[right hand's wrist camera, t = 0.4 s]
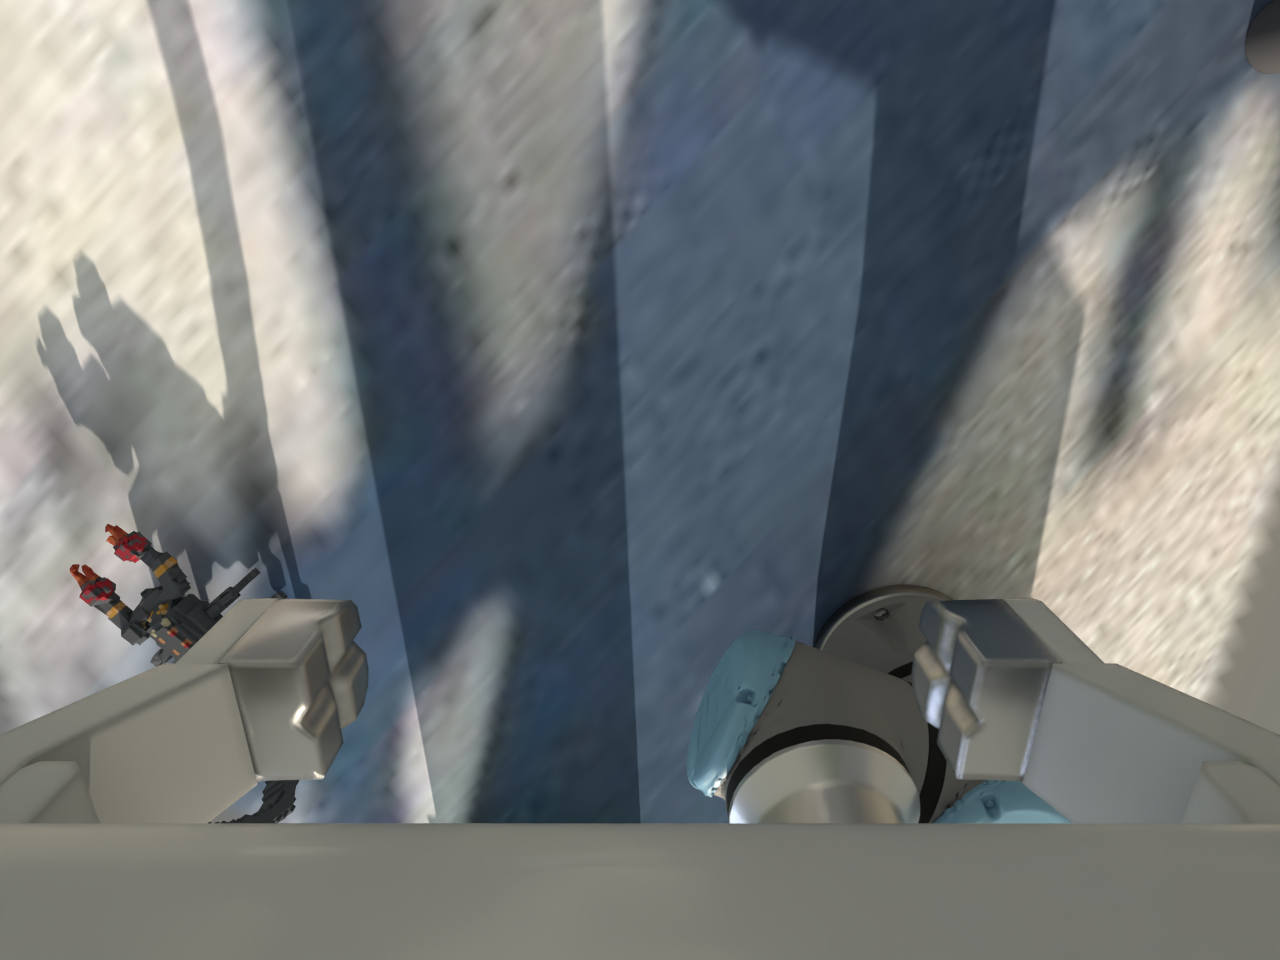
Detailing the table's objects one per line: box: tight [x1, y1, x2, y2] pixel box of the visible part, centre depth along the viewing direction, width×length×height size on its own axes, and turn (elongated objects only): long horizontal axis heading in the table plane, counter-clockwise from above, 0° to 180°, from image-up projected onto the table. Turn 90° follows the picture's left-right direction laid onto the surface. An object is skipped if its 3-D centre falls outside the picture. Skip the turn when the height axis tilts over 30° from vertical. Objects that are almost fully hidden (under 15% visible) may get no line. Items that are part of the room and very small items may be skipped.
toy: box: [70, 524, 299, 823], centre depth 58 cm, size 13×27×18 cm, turn 39°
